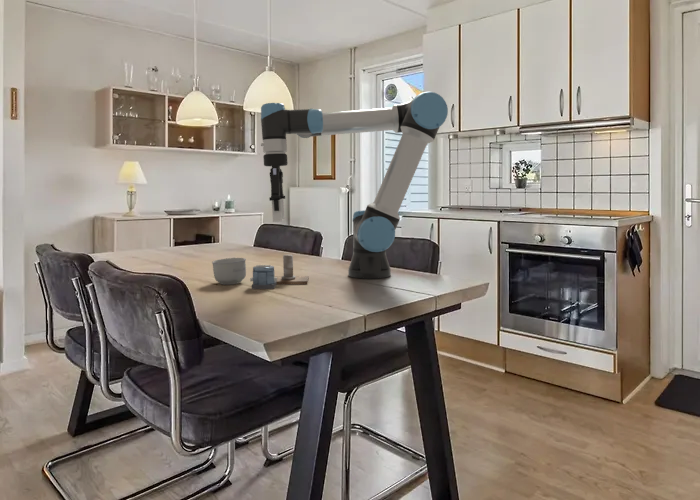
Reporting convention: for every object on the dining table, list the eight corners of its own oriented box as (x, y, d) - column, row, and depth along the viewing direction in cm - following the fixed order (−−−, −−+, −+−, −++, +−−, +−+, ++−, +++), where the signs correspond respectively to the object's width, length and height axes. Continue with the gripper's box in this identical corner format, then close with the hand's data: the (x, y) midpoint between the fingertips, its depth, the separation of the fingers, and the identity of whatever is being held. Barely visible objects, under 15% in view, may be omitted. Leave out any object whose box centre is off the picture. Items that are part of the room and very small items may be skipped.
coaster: (276, 284, 175) (276, 281, 175) (274, 288, 168) (274, 285, 168) (255, 284, 174) (254, 281, 174) (251, 289, 168) (251, 285, 167)
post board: (308, 279, 185) (308, 253, 184) (307, 284, 175) (306, 257, 174) (270, 279, 184) (270, 253, 183) (267, 284, 175) (266, 257, 174)
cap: (278, 281, 174) (277, 263, 174) (276, 284, 168) (275, 266, 167) (252, 281, 174) (251, 263, 173) (249, 285, 167) (248, 266, 167)
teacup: (238, 286, 171) (237, 262, 170) (207, 285, 173) (206, 261, 172) (254, 279, 185) (254, 256, 184) (225, 278, 187) (224, 255, 186)
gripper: (266, 155, 182) (270, 218, 185) (259, 151, 158) (263, 223, 160) (288, 155, 183) (292, 217, 186) (284, 150, 158) (288, 222, 161)
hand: (278, 220), depth 173 cm, fingers open, 13 cm apart
